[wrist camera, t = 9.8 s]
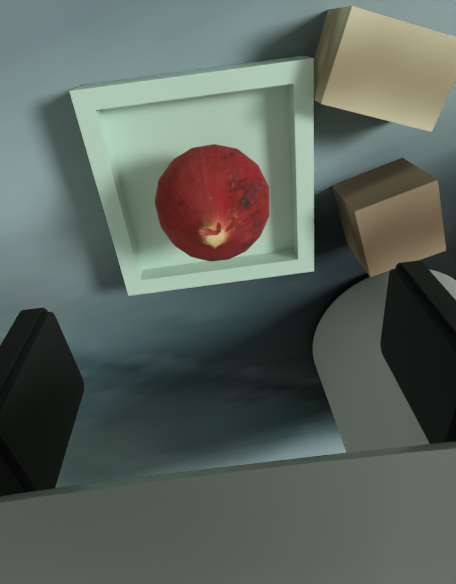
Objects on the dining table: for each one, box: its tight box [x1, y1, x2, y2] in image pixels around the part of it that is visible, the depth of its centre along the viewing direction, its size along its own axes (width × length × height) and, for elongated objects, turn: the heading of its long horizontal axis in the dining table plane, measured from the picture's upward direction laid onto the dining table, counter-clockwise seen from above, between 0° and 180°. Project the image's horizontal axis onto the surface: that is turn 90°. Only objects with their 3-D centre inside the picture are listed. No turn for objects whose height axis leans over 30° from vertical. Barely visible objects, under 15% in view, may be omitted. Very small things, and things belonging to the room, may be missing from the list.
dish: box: [69, 56, 314, 296], centre depth 25 cm, size 12×12×2 cm
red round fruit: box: [155, 144, 269, 262], centre depth 21 cm, size 6×6×8 cm
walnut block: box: [332, 158, 446, 277], centre depth 25 cm, size 4×4×4 cm
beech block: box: [314, 6, 456, 132], centre depth 21 cm, size 4×6×4 cm, turn 77°
